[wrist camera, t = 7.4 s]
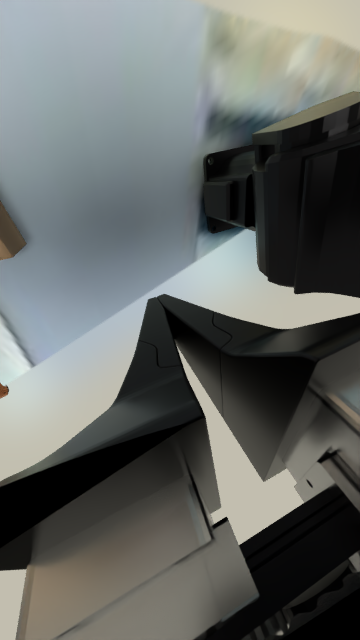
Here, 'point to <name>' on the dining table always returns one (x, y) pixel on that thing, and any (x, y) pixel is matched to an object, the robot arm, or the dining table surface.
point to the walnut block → (9, 236)
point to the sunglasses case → (3, 390)
